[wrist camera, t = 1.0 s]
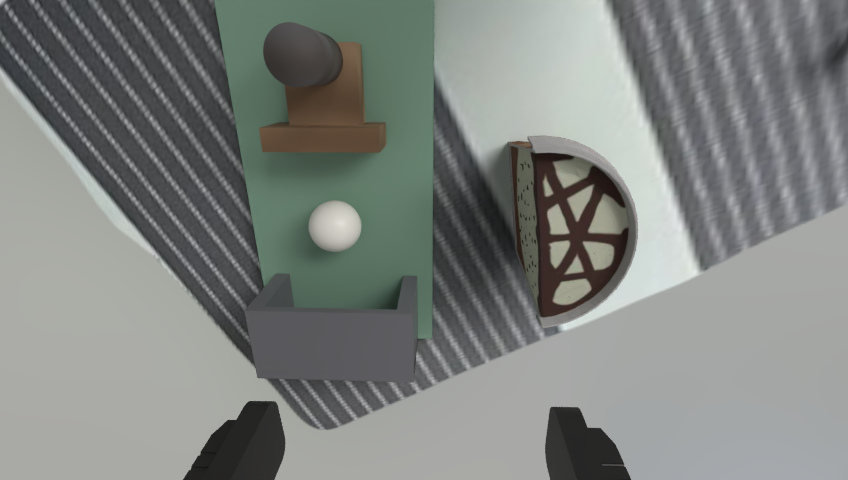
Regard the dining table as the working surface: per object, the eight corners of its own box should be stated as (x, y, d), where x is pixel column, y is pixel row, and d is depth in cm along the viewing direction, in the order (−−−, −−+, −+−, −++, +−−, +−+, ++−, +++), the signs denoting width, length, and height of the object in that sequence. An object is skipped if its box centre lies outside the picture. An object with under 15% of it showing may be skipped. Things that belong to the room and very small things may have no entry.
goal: (276, 273, 35) (244, 310, 30) (417, 275, 35) (412, 314, 29) (285, 332, 38) (257, 378, 32) (418, 335, 37) (413, 382, 31)
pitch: (219, -9, 28) (212, -12, 27) (434, -12, 27) (433, -15, 27) (276, 329, 39) (272, 335, 38) (432, 332, 38) (432, 338, 37)
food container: (588, 259, 35) (642, 325, 25) (516, 267, 35) (542, 335, 26) (589, 110, 30) (655, 125, 21) (507, 122, 31) (535, 141, 21)
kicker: (267, 35, 28) (214, 22, 21) (382, 34, 28) (363, 21, 21) (282, 143, 31) (239, 161, 24) (386, 144, 30) (371, 162, 24)
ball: (314, 194, 32) (298, 209, 29) (364, 194, 32) (353, 209, 28) (319, 240, 34) (304, 260, 30) (366, 240, 34) (357, 260, 30)
